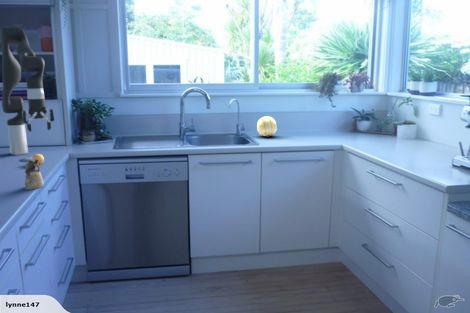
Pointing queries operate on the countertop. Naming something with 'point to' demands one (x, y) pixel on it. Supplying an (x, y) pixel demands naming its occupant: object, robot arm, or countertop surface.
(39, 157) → the ball
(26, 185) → the figurine
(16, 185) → the countertop surface
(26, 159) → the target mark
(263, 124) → the cantaloupe
